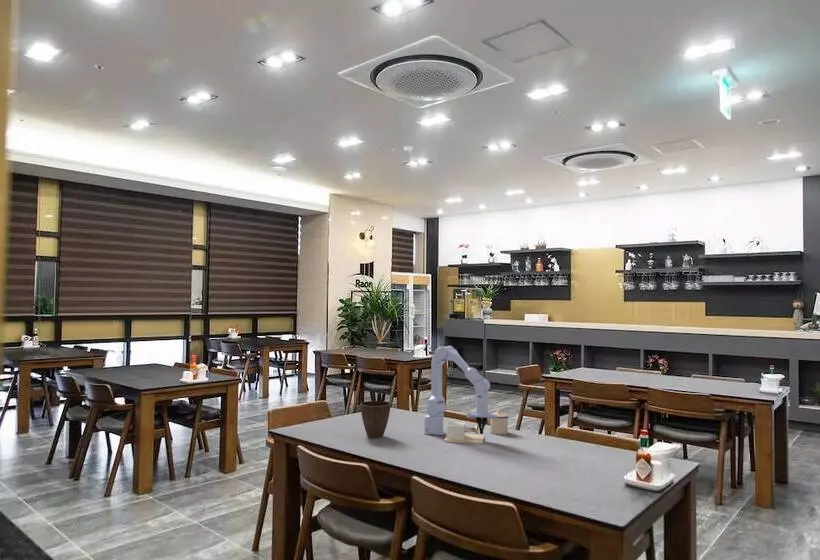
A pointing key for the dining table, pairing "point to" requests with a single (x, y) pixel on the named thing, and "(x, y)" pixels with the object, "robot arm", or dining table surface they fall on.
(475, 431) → the shaft
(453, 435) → the bearing block
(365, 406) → the plant pot
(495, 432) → the teacup with lid
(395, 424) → the dining table surface
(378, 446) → the dining table surface
